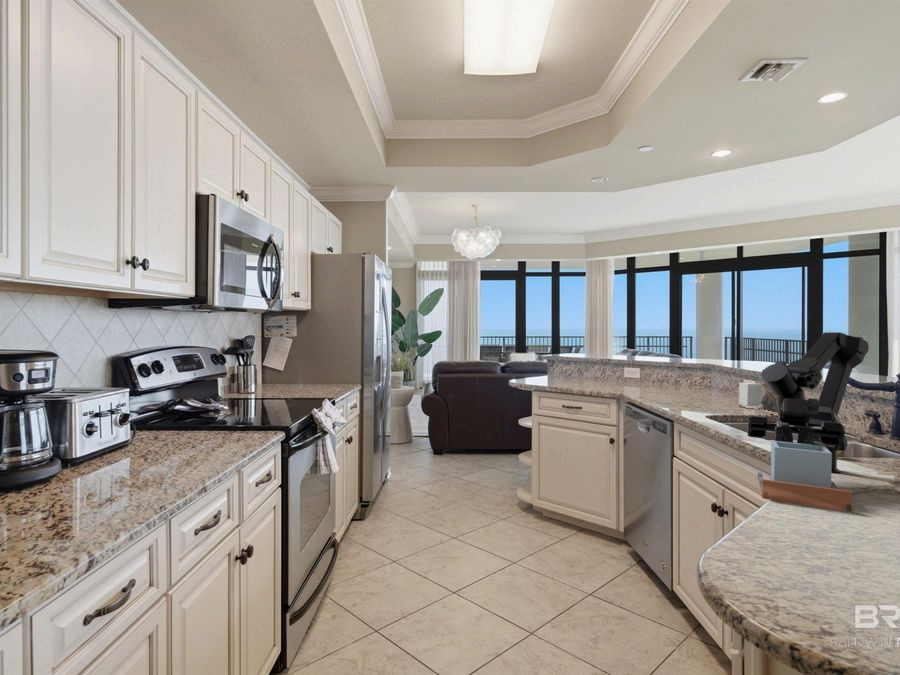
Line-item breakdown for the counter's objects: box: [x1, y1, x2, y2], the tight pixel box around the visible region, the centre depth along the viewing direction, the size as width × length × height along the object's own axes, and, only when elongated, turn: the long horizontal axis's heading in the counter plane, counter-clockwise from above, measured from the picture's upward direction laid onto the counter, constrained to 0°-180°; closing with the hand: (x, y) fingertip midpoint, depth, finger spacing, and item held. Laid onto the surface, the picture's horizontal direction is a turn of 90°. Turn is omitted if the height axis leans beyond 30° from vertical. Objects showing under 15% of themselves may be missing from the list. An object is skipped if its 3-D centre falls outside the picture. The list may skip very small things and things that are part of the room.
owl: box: [761, 381, 778, 413], centre depth 227 cm, size 13×13×20 cm
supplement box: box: [738, 382, 763, 406], centre depth 248 cm, size 7×7×13 cm
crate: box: [770, 440, 832, 488], centre depth 109 cm, size 8×10×10 cm
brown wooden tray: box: [757, 471, 854, 512], centre depth 108 cm, size 18×15×5 cm
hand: (795, 460), depth 112 cm, fingers closed, pressing on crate
